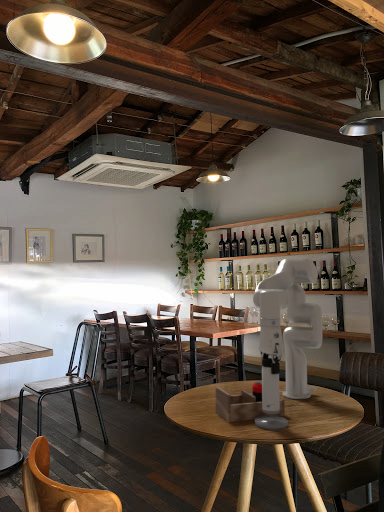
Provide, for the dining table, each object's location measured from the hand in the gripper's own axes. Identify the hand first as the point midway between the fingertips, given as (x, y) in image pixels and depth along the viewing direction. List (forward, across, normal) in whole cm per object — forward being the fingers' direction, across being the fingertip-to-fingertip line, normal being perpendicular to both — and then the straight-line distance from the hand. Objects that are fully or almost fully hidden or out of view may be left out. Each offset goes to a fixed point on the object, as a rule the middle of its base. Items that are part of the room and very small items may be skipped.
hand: (270, 371), depth 160 cm
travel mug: (+15, 0, 0) cm, 15 cm away
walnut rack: (+19, +14, +2) cm, 24 cm away
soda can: (+20, +14, -4) cm, 24 cm away
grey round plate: (+19, 0, 0) cm, 19 cm away
